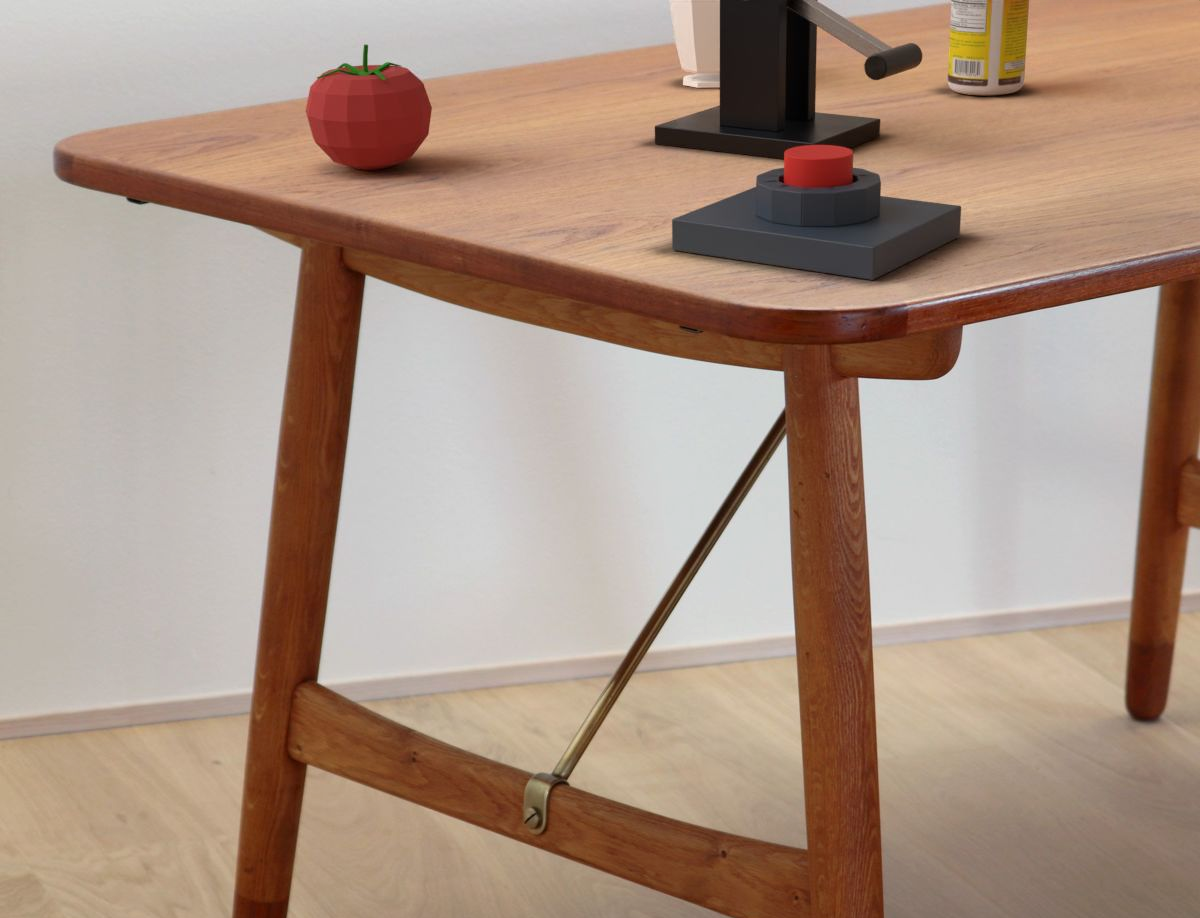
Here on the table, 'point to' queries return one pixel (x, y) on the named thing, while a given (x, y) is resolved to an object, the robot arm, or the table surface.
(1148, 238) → the table surface
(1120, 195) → the table surface
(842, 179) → the button
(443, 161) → the table surface
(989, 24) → the supplement bottle
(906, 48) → the lever
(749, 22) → the bracket
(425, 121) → the tomato
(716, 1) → the cup
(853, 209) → the block
